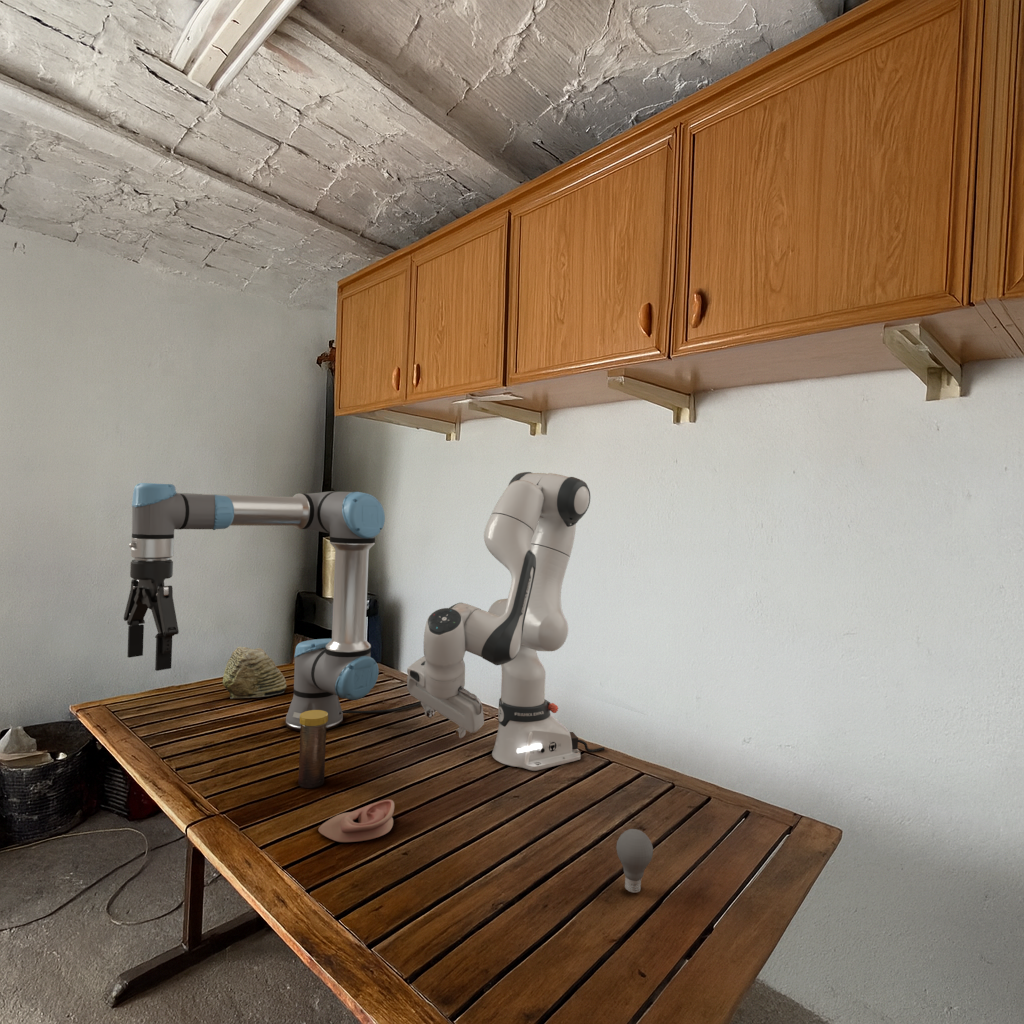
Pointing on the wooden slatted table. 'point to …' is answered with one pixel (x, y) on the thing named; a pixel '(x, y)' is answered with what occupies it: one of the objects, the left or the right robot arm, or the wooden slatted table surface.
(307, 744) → the jar
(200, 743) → the wooden slatted table surface
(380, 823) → the anatomical model
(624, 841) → the light bulb
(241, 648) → the fossil
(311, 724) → the lid
